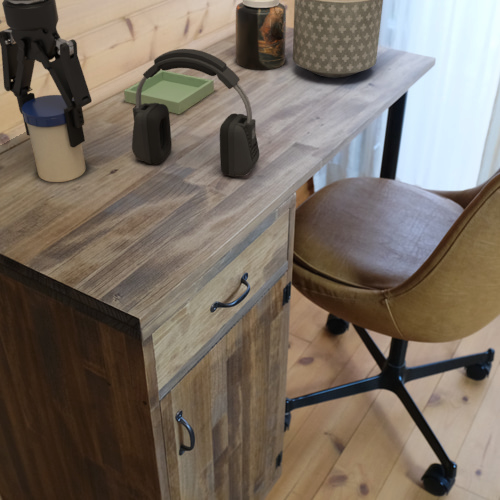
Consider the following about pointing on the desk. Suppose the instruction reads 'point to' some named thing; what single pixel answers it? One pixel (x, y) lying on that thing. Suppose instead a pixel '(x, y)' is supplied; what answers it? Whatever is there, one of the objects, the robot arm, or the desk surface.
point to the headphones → (158, 122)
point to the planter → (336, 35)
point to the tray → (171, 90)
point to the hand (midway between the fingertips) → (55, 137)
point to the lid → (45, 111)
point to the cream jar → (56, 154)
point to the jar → (260, 34)
